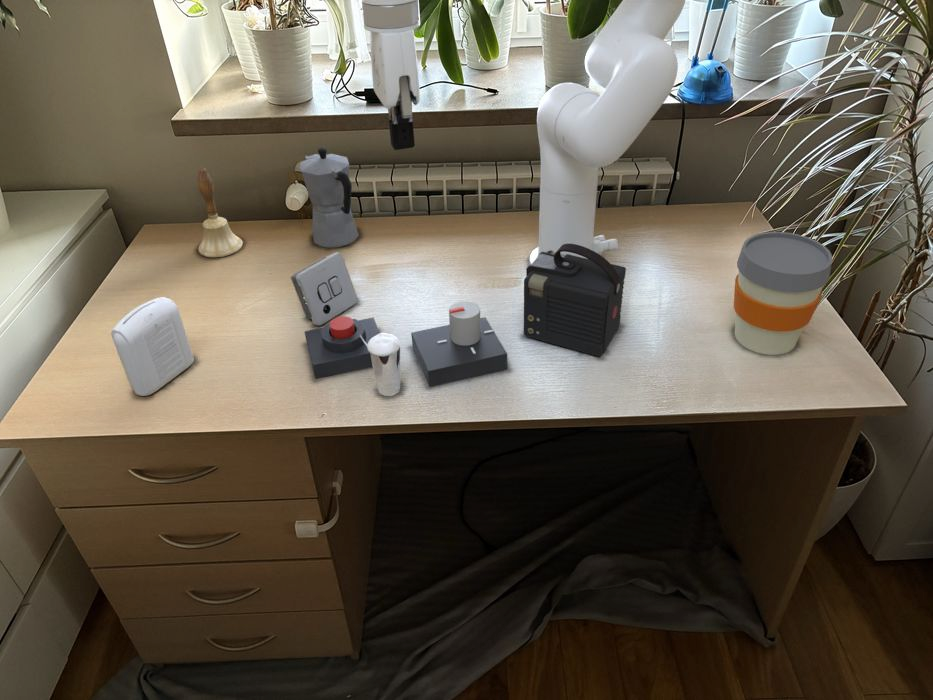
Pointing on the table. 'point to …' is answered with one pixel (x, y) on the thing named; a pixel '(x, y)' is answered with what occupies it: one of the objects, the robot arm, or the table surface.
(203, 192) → the hand bell
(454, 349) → the panel
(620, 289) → the camera
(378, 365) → the milkshake
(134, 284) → the table surface
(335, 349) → the power housing
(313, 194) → the coffeepot
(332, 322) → the power button
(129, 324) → the photo printer
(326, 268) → the electrical switch
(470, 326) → the dial
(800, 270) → the reusable coffee cup
